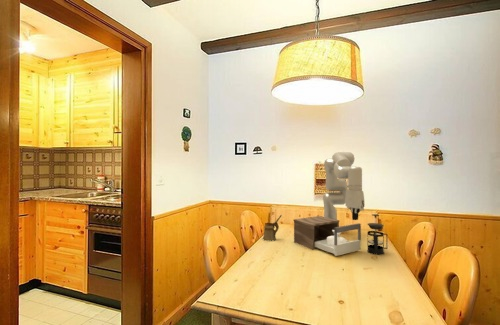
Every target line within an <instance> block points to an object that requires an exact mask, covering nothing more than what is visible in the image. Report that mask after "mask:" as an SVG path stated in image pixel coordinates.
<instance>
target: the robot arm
mask: <svg viewBox="0 0 500 325" xmlns="http://www.w3.org/2000/svg"><path fill="white" fill-rule="evenodd" d="M354 162H355V155H354V153H352V152H350V151H341V152H340V151H338V152H335V153H334V154H332V157H331V158H327V159H325V160H324V162H323V167H324V171H325V189H326V190H327V191H328V192H325V193H324V194H322V200H323V201H322V202H323V217H327V218H331V219H336V220H338V211H337V208H336V207H335V205H336V206H337V205H339V206H340V205H345V207H346V208H347V209H349V210H350V212H351V214H352V215H351V219H352V220H353V221H358V220H359V213H360V212H363V211H365V195H364V191H363V168H362V167H360V166H354V165H353V164H354ZM345 179H347V181H346V180H345Z"/></svg>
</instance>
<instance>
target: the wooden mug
mask: <svg viewBox="0 0 500 325" xmlns="http://www.w3.org/2000/svg"><path fill="white" fill-rule="evenodd" d="M280 218H282V214H280V215H279V216H278V218H277V219H276V220H275V222H266V223H265V224H264V227H263V228H264V229H263V230H264V231H263V235H262V240H263V239H264V240H263V241H265V240H274V241H276V239H277V236H276V234H277V232H278V231H279V224H278V222H279V220H280Z"/></svg>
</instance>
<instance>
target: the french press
mask: <svg viewBox="0 0 500 325" xmlns="http://www.w3.org/2000/svg"><path fill="white" fill-rule="evenodd" d="M371 216H374V222H369V223H367V224H366V225H367V226H369V227H368V228H370V229H371V230H368V231H367V236H371V237H373V238H372V239H367V243H368V244H367V250H366V252H367V253H368V254H371V255H376V256H382V255H384V254H385V251H384V250H388V234H387V233H384V232H383V231H382V230H383V229H384V224H382V223H377V217H379V216H380V214H376V213H374V214H371ZM380 230H381V231H380ZM384 236H386V245H385V246H386V247H385V246H384V244H385V240H384V238H385V237H384ZM381 237H382V240H379V238H381Z"/></svg>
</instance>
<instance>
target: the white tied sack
mask: <svg viewBox="0 0 500 325" xmlns="http://www.w3.org/2000/svg"><path fill="white" fill-rule="evenodd" d="M332 231H333V232H334V230H332ZM341 233H342V232H340V233H337V244H341V243H345V242H346V240H347V238H345V237H343V236H341ZM327 244H328V245H330V246H332V247H334V236H328V237H327Z"/></svg>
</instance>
